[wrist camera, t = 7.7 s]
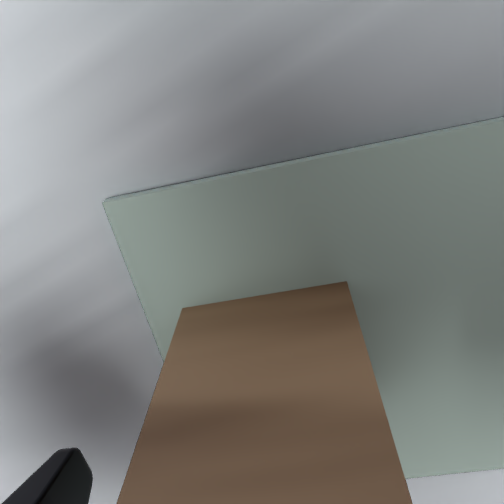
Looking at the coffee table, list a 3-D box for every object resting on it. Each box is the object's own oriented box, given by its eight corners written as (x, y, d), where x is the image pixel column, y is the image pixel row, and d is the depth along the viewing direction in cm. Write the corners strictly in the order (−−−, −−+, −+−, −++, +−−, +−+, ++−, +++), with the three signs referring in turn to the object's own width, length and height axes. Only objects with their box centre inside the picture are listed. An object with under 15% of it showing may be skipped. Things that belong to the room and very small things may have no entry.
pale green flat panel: (704, 437, 12) (714, 446, 12) (217, 489, 14) (216, 498, 14) (821, 50, 8) (840, 51, 8) (106, 198, 10) (101, 203, 10)
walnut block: (364, 407, 12) (465, 818, 6) (221, 425, 12) (170, 819, 6) (346, 281, 10) (459, 666, 4) (181, 308, 11) (55, 685, 5)
